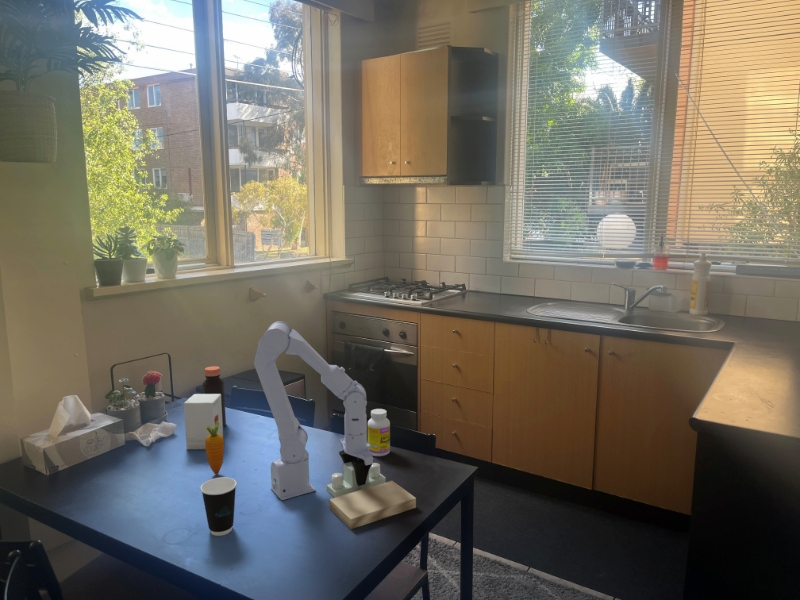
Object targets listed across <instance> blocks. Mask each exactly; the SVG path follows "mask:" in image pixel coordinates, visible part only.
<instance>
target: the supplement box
mask: <svg viewBox="0 0 800 600" xmlns="http://www.w3.org/2000/svg"><path fill="white" fill-rule="evenodd" d="M183 413H184V427H185V428H184V429H185V445H186V446H185V447H186V450H206V446H205V440H206V438H207V436H209V435H211V434H210V433H209V431H208V430H207V429H206V426H207V425H208V426H209V427H210V429H211V431H212V428H213V430H214V428H215V425H216V421H218V422H219V426H218V431H217V434H220V435H222V436H223V437H224V426H223V423H222V405H221V394H203V393H194V394H192V395H191V396H190V397H189V398H188V399H187V400H186V401H184V402H183Z"/></svg>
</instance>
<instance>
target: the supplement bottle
mask: <svg viewBox="0 0 800 600" xmlns="http://www.w3.org/2000/svg"><path fill="white" fill-rule="evenodd" d="M387 415H388V414H387V410H386V409H383V408H375V409H372V410H370V417H371V418H369V420H368V421H367V443H368V444H369V445H371V448H369V452H370V454H371V455H372V456H374V457H385V456H387V455H388V454H390V452H391V422H390V420H389V419H388V418H387Z"/></svg>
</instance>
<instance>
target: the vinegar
mask: <svg viewBox="0 0 800 600" xmlns="http://www.w3.org/2000/svg"><path fill="white" fill-rule="evenodd" d="M220 376H221V367H220V366H217V365H215V366H207V367H205V368H204V377H205V380H204V381H203V382H202V394H221V405H222V423H223V427H225V426H226V424H227V418H226V401H225V385H224V384H225V382H224V380H223V379H221V378H220Z"/></svg>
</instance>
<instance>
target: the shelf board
mask: <svg viewBox="0 0 800 600" xmlns="http://www.w3.org/2000/svg"><path fill="white" fill-rule="evenodd" d="M328 500H329V509H330V511H331V512H332V513H334V514H335V516H336V517H337V518H339V519H340V520H341V521H342V523H344V524H345V525H346V526H347V527H348V528H349V529H350V530H353V529H355V528H358V527H362V526H366V525H368V524H371V523H374V522H377V521H380V520H383V519H386V518H389V517H392V516H394V515H398V514H401V513H403V512H407V511H410V510H413V509H416V508H417V498H416V497H415V496H414V495H412V494H411V493H410V492H409V491H407V490H406V489H404V488H403V487H402V486H400V485H398V484H397V483H396V482H394V480H389V481H386V483H383V484H379V485H376V486H373V487H369V488H366V489H362V490H359V491H356V492H352V493H349V494H346V495H342V496H339V497H336V498H335V497H332V498H330V499H328Z"/></svg>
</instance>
